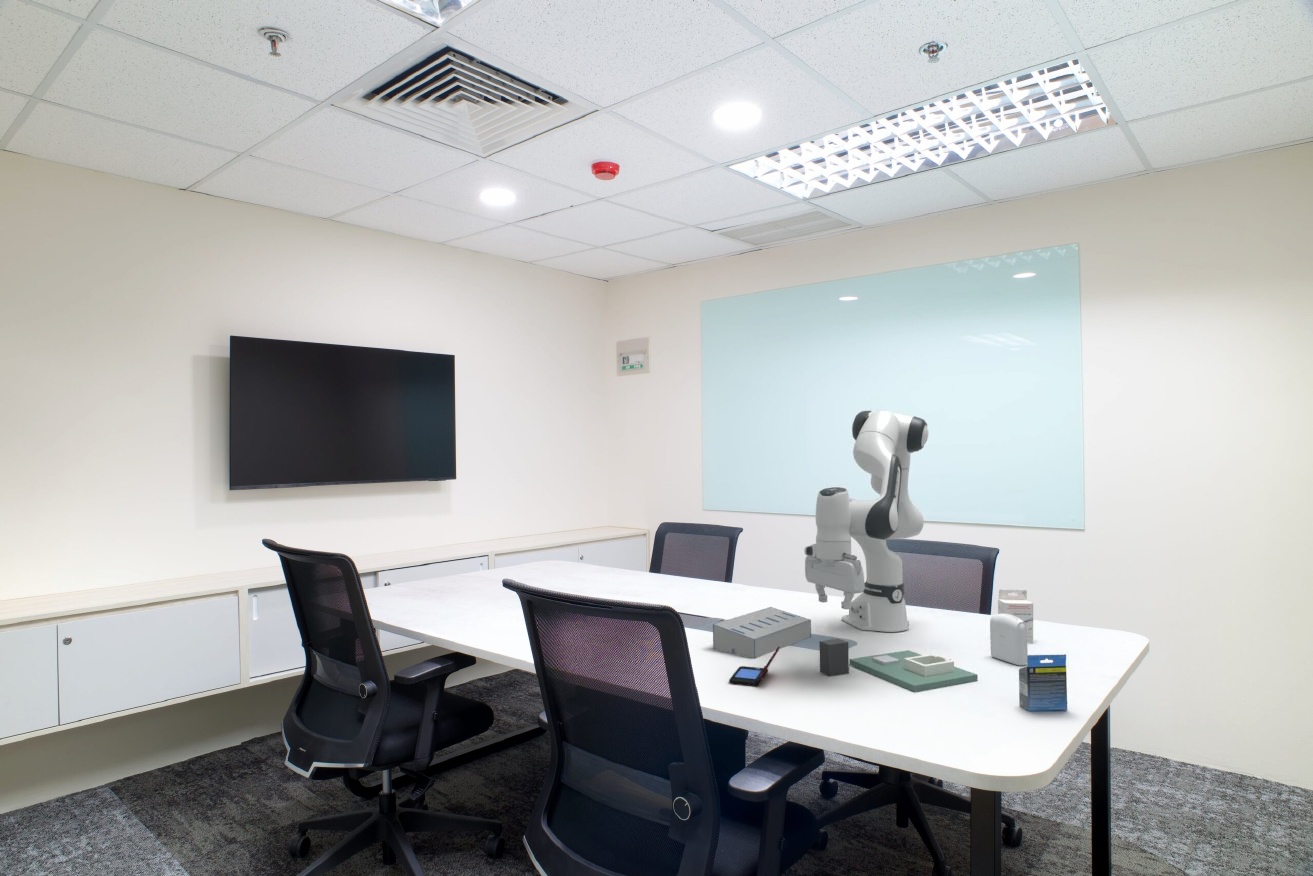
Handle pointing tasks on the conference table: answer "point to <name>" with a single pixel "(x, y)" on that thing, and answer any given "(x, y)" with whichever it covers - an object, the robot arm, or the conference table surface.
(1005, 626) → the photo printer
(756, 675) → the handheld game console
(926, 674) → the board
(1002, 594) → the ink cartridge box
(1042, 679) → the label tape cartridge
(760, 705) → the conference table surface
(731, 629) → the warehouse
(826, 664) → the plug
